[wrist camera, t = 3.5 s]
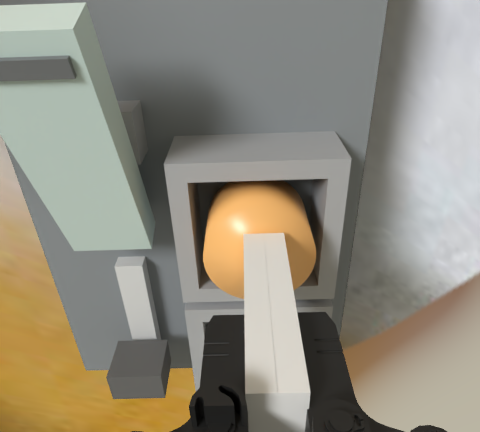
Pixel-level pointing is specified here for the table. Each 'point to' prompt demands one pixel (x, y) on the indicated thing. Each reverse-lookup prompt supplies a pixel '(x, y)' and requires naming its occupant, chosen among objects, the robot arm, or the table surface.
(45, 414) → the table surface
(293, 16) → the panel
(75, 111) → the block
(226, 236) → the button
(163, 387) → the slider
